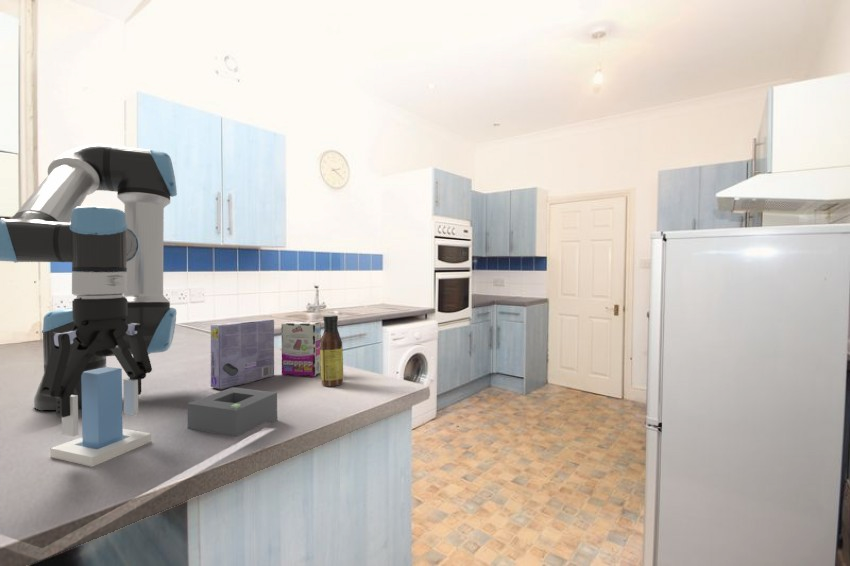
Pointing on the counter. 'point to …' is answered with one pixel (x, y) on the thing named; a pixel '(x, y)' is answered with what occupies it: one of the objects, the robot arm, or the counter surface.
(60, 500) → the counter surface
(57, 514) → the counter surface
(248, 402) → the port
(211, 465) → the counter surface
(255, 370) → the cake pan box
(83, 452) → the holster
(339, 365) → the sauce bottle
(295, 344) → the candy bar box
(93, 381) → the plug
